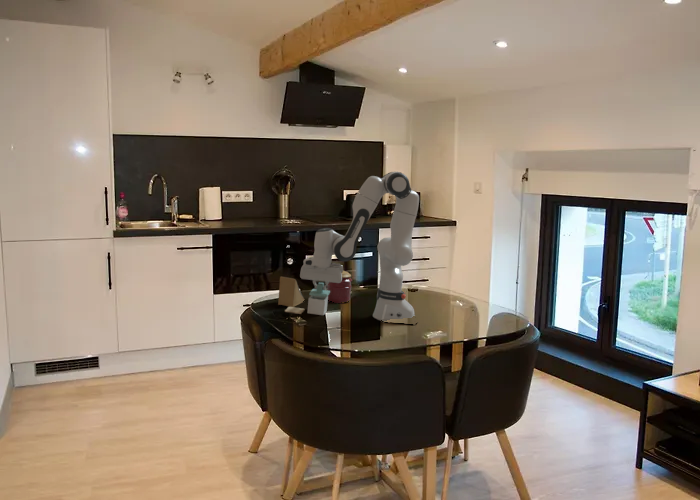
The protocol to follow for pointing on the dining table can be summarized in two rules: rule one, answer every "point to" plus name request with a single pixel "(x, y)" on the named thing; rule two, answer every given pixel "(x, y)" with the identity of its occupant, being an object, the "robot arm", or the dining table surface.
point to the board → (294, 310)
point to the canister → (340, 289)
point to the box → (317, 305)
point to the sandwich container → (289, 292)
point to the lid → (319, 291)
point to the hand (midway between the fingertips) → (320, 289)
